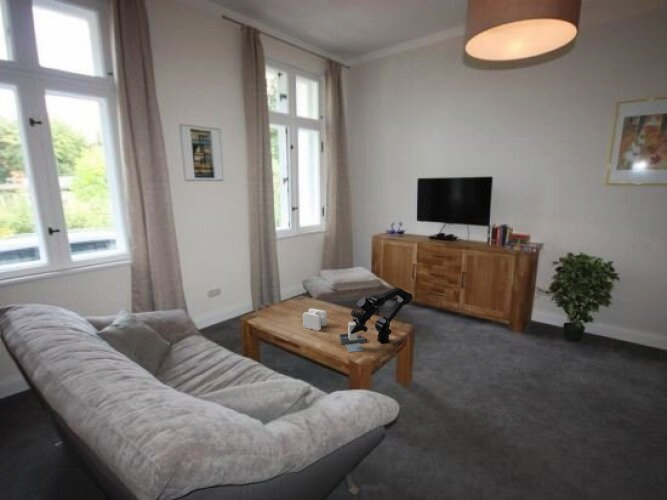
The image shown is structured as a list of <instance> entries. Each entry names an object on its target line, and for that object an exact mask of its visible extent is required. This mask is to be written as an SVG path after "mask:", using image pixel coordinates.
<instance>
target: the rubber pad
mask: <svg viewBox="0 0 667 500" xmlns="http://www.w3.org/2000/svg"><path fill="white" fill-rule="evenodd" d="M344 345H345V347H346V350H347V352H348V353H355V352H356V353H357V352H365V349H364V347H363V346H362V343H353V344H344Z"/></svg>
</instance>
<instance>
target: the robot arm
mask: <svg viewBox="0 0 667 500" xmlns="http://www.w3.org/2000/svg"><path fill="white" fill-rule="evenodd" d="M396 297H397V300H396V302H395V303H394V304H393V306H391V308H390V309H389V310H388V312H387V313H386V314H385V316H383V317H381V316H379V318H378V319H377V320H376V321H375V324H374V328H375V330H376V331H377V332H378V333H377V338H376V341H378V343H380V344H381V345H383V344H389V343H391V340H390V335H391V334H392V330H391V329H390V326H391V323H392V320H393V319H394V318H395V317H396V316H397V314H398V313H399V312H400V311H401V309H402V308H403V307H404V306H405V305H407V304H409V303H410V302H412V300H413V294H412V293H410V292H408V291H405V290H404V289H403V288H401V287H397V286H396V287H394V288H393V289H391V290H389V291H386V292H384V293H381V294H377V293H376V294H373V295H371V297H369V298H367V297H366V296H363V297H362V298H360V299H359V300H358V301H357V303H356V304H357V306H358V308H359V309H361V311H358V310H356V309H351V312H350V316H351V317H352V322H355V323H356V326H355V327H354V329H353V330H352V331H351V334H353V333H356V332H357V333H359V332H362V331H363V332H364V333H366V332H367V331H368V329H369V328H368V326H367V324H366V323H367V322H368V321H371V317H373V315H374V314H375V313H377V314H379V313H380V308H379V307H381V306H383V305H385V304H386V302H387V301H389V300H391V299H394V298H396Z"/></svg>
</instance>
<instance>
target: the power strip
mask: <svg viewBox="0 0 667 500" xmlns="http://www.w3.org/2000/svg"><path fill="white" fill-rule="evenodd" d="M338 336H339V337H338V340H339V342H340V345H341V346H343V345H345V344H355V343H360V344H363V343H366V342H367V341H366V337H365V335H364V334H363V333H362V334H357V340H349V338H348V333H341V334H340V333H339V334H338Z"/></svg>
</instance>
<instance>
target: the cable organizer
mask: <svg viewBox="0 0 667 500" xmlns="http://www.w3.org/2000/svg"><path fill="white" fill-rule="evenodd" d="M327 314H328V313H327V312H326V311H325V310H321V309H317V308H309V309H308V310H307V312H303V313H302V326H303V328H305V329H307V330H313V331H316V332H318V331H320V330H321V329H322V327H325V326H326V325H327V324H328V315H327Z"/></svg>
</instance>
